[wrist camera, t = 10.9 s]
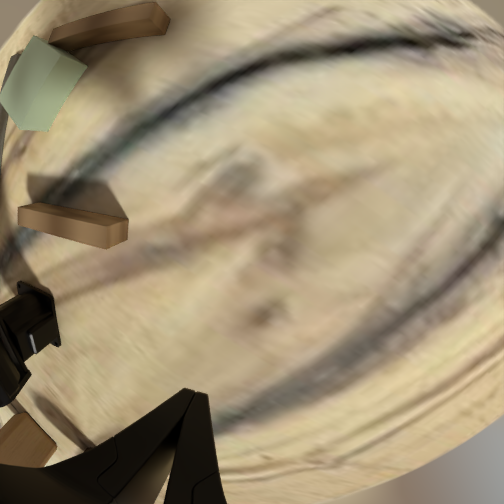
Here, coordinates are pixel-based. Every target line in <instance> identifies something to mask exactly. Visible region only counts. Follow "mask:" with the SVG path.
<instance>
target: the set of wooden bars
mask: <svg viewBox="0 0 504 504" xmlns="http://www.w3.org/2000/svg"><path fill="white" fill-rule="evenodd" d="M169 22H170V18H169V17H168V16H167V15H166V13H165V12H164V11H163V10H162V9H161V8H160V6H159V5H158V4H157V3H156V2H152V3H146V4H140V5H135V6H129V7H125V8H120V9H116V10H112V11H107V12H104V13H100V14H96V15H93V16H89V17H86V18H83V19H80V20H77V21H74V22H71V23H68V24H65V25H62V26H60V27H57V28H55V29H53V31H52V34H51V36H50V39H49V41H48V44H50V45H53V46H55V47H57V48H60V49H62V50H65V51H67V52H68V51H71V50H75V49H79V48H83V47H87V46H91V45H96V44H101V43H106V42H111V41H116V40H122V39H129V38H136V37H144V36H154V35H165V33H166V30H167V27H168V25H169ZM20 56H21V54H18V53H17V54H15V55H13V56H11V58H10V61H9V64H8V68H7V71H6V74H5V77H4V81H3V84H2V88H1V91H2V89H3V87H4V85H5V83H6V81H7V79H8V77H9V75H10V74H11V72H12V70H13V68H14V66H15V65H16V63H17V61H18V59H19V58H20ZM0 93H1V92H0ZM7 119H8V113H7V111H6V110H5V108H4V107H3V106H2V104H1V103H0V173H1V161H2V152H3V144H4V137H5V130H6V125H7ZM128 222H129V219H123V218H118V217H113V216H108V215H103V214H98V213H93V212H88V211H82V210H77V209H72V208H67V207H62V206H56V205H51V204H46V203H40V202H39V203H34V204H29V205H25V206H20V207H18V225H20V226H24V227H27V228H31V229H34V230H37V231H41V232H44V233H48V234H51V235H55V236H58V237H62V238H65V239H69V240H73V241H76V242H80V243H84V244H87V245H91V246H95V247H99V248H102V249H108V248H110V247H112V246H115V245H117V244H119V243H121V242H123V241H126V240H127V236H128Z"/></svg>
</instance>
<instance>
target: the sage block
mask: <svg viewBox="0 0 504 504" xmlns="http://www.w3.org/2000/svg"><path fill="white" fill-rule="evenodd" d="M87 67H88V66H87V65H85V64H84V63H83V62H81V61H80V60H78V59H77V58H76V57H74V56H73V55H71V54H70V53H68V52H67V51H65V50H62V49H60V48H57V47H55V46H53V45H50V44H48V41H47V40H44V39H42V38H39V37H37V36H33V37H32V39H31V40H30V42H29V43H28V45H27V46H26V48H25V49H24V51H23V53H22V54H21V56H20V58H19V59H18V61H17V63H16V65H15V66H14V68H13V70H12V72H11V74H10V75H9V77H8V79H7V81H6V83H5V85H4V87H3V89H2V91H1V93H0V103H1V104H2V106H3V107H4V108H5V110H6V111H7V113H8V114H9V116H10V117H11V118H12V120H13V121H14V123H15V124H16V125H17V127H18V128H19V129H20V130H34V131H46V132H48V131H49V129H50V127H51V125H52V123H53V122H54V120H55V118H56V116H57V114H58V113H59V111H60V109H61V107H62V106H63V104H64V102H65V101H66V99H67V97H68V96H69V94H70V92H71V91H72V89H73V88H74V86H75V85H76V83H77V82H78V80H79V79H80V77H81V76H82V74H83V73H84V71H85V70H86V68H87Z"/></svg>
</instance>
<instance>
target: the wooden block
mask: <svg viewBox="0 0 504 504" xmlns="http://www.w3.org/2000/svg"><path fill="white" fill-rule="evenodd" d="M56 450H57V445H56V444H55V442H54V441H53V440H52V439H51V438H50V437H49V436H48V435H47V434H46V433H45V432H44V431H43V430H42V429H41V428H40V427H39V426H38V425H37V424H36V423H35V421H34V420H33V419H32V418H31V417H30V416H29V415H28V414H27V413H25V412H24V413H20V414H16V415H14V416H13V417H12V418H11V419H10V420H9V421H8V422H7V423H6V424H5V425H4V426H3V427H2V428H1V429H0V463H1V464H7V465H14V466H22V467H33V468H39V467H44V466H45V464H46V463H47V462H48V460H49V459H50V458H51V456H52V455H53V454H54V452H55V451H56Z"/></svg>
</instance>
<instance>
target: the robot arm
mask: <svg viewBox="0 0 504 504" xmlns="http://www.w3.org/2000/svg"><path fill="white" fill-rule="evenodd" d="M17 289H18V295H17V296H15V297H13V298H12V299H10V300H8V301H6V302H5V303H3V304H1V305H0V407H4V406H6V405H8V404H9V403H11V402H12V401H13V400H14V399H15V398H16V396H17V395H18V394H19V392H20V391H21V389H22V388H23V386H24V385H25V383H26V382H27V381H28V379H29V378H30V376H31V375H32V374H31V372H30V371H29V370H28V369H27V367H26V365H25V363H24V362H25V361H26V360H27V359H28V358H30V357H31V356H32V355H33V354H37V353H39V352H40V351H41V350H42V349H43V348H45V347H46V346H47V345H48V344H52V345H54V346H56V347H59V346H61V341H60V336H59V331H58V325H57V319H56V313H55V306H54V300H53V297H52V296H51V295H50V294H47V293H45V292H43V291H41V290H39V289H37V288H35V287H33V286H30V285H28V284H26V283H24V282H22V281H18V282H17ZM170 471H171V472H170ZM169 473H170V477H169V481H168V486H167V490H166V495H165V499H164V504H227V502H226V499H225V496H224V492H223V488H222V483H221V478H220V473H219V467H218V461H217V455H216V449H215V442H214V435H213V428H212V421H211V414H210V406H209V398H208V394H206V393H202V392H198V391H197V392H195V391H194V390H191V389H188V388H183V389H182V390H180V391H179V392H178V393H176V394H175V395H173V396H172V397H171V398H169V399H168V400H166V401H165V402H164V403H162V404H161V405H159V406H158V407H156V408H155V409H153V410H152V411H151V412H149V413H148V414H146V415H145V416H143V417H142V418H140V419H139V420H137V421H136V422H134V423H133V424H131V425H130V426H128V427H127V428H125V429H124V430H122V431H121V432H119V433H117V434H116V435H115V436H114V437H111V438H109V439H108V440H106V441H105V442H103V443H101V444H99V445H98V446H96V447H94V448H92V449H90V450H88V451H86V452H84V453H81V454H79V455H77V456H74V457H72V458H69V459H67V460H64V461H61V462H59V463H56V464H53V465H50V466H46V467H39V468H33V467H22V466H14V465H7V464H1V463H0V504H154V502H155V500H156V498H157V496H158V494H159V493H160V491H161V489H162V487H163V485H164V483H165V481H166V479H167V477H168V475H169Z"/></svg>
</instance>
